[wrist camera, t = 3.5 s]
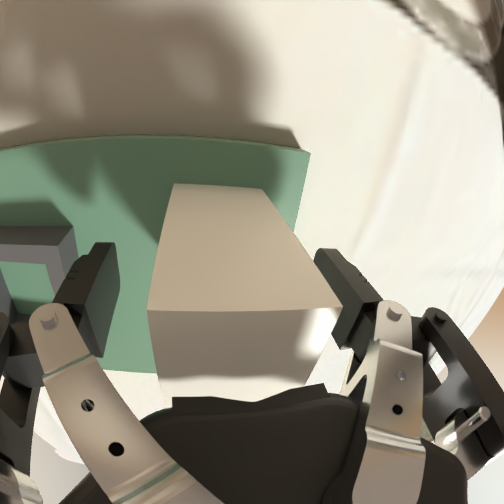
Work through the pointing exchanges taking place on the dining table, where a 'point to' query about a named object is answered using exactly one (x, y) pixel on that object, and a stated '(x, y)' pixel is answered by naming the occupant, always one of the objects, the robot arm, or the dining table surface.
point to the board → (117, 215)
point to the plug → (234, 298)
